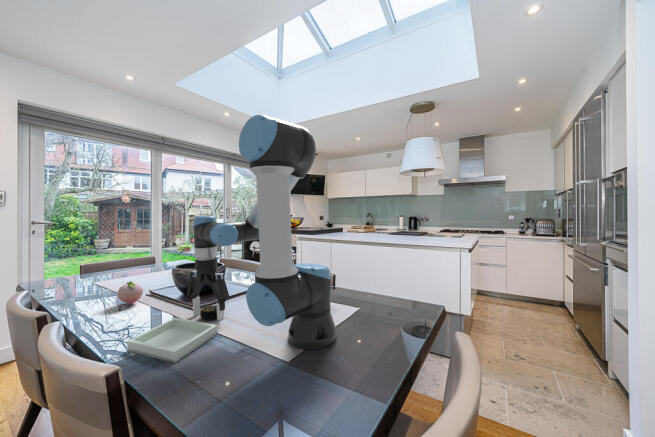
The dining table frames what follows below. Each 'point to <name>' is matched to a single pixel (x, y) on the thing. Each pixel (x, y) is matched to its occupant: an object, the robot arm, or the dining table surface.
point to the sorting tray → (172, 339)
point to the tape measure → (209, 312)
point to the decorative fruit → (130, 292)
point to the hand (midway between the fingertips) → (208, 316)
